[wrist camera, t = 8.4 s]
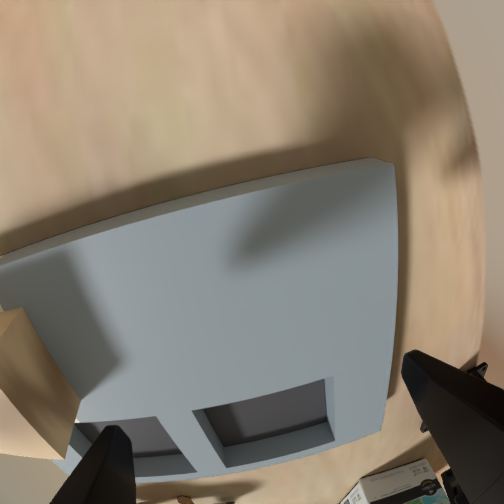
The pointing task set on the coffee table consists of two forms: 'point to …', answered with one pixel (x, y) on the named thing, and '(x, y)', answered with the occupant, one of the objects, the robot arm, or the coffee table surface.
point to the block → (32, 393)
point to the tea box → (400, 487)
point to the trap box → (224, 320)
